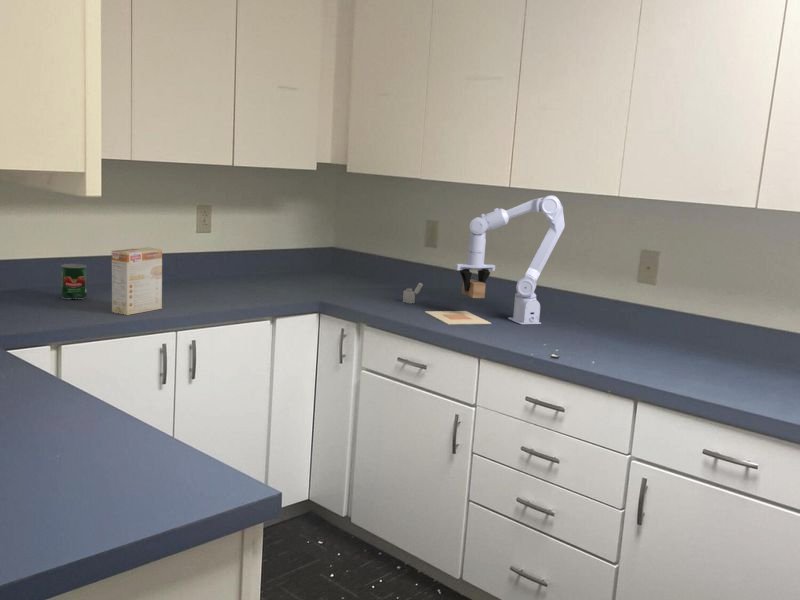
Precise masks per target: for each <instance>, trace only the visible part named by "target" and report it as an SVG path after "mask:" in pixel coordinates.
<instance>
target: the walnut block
mask: <svg viewBox="0 0 800 600" xmlns="http://www.w3.org/2000/svg"><path fill="white" fill-rule="evenodd" d="M486 286H487V283H486V282H485V283H483V282H480V281H478V279H474V278H473V279H472V278H471V279H470V287H469V291H465V288H464V282H463V281H462V287H461V294H462V295H465V296H467V297H470V298H472V299H485V298H486V297H485V296H486Z"/></svg>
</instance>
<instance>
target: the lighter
mask: <svg viewBox="0 0 800 600" xmlns="http://www.w3.org/2000/svg"><path fill="white" fill-rule="evenodd" d="M423 286H424V284H423V283H422V282H419V283H418V284H417V285H416V287H415V289H414V291H413V288H410V287H409V288H405V290H403V292H402V293H403V295H402V303H404V302H406V304H412V303H413V304H415V302H416V300H415V299H416V295H418V294H419V293H420V291H421V289H422V287H423Z"/></svg>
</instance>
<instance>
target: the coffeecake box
mask: <svg viewBox="0 0 800 600" xmlns="http://www.w3.org/2000/svg"><path fill="white" fill-rule="evenodd" d="M162 309H163V249H161V248H154V247H151V246H150V247H149V246H147V247H145V246H144V247H137V248H129V249H127V248H126V249H118V250H111V313H113V312H114V313H113V314H118V313H119V315H123V314H124V316H130V315H135V314H139V313H145V312H151V311H157V310H162Z"/></svg>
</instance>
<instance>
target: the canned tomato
mask: <svg viewBox="0 0 800 600" xmlns="http://www.w3.org/2000/svg"><path fill="white" fill-rule="evenodd" d="M60 267H61V270H60V271H61V272H60V274H61V275H60V277H61V280H60V283H61V286H60V288H61V289H60V291H61V296H62V297H64V298H72V299H73V298H74V299H75V298H77V299H78V298H85V297H87V282H88V281H87V274H88V273H87V267H88V266H87V264H82V263H64V264H61V265H60Z"/></svg>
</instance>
